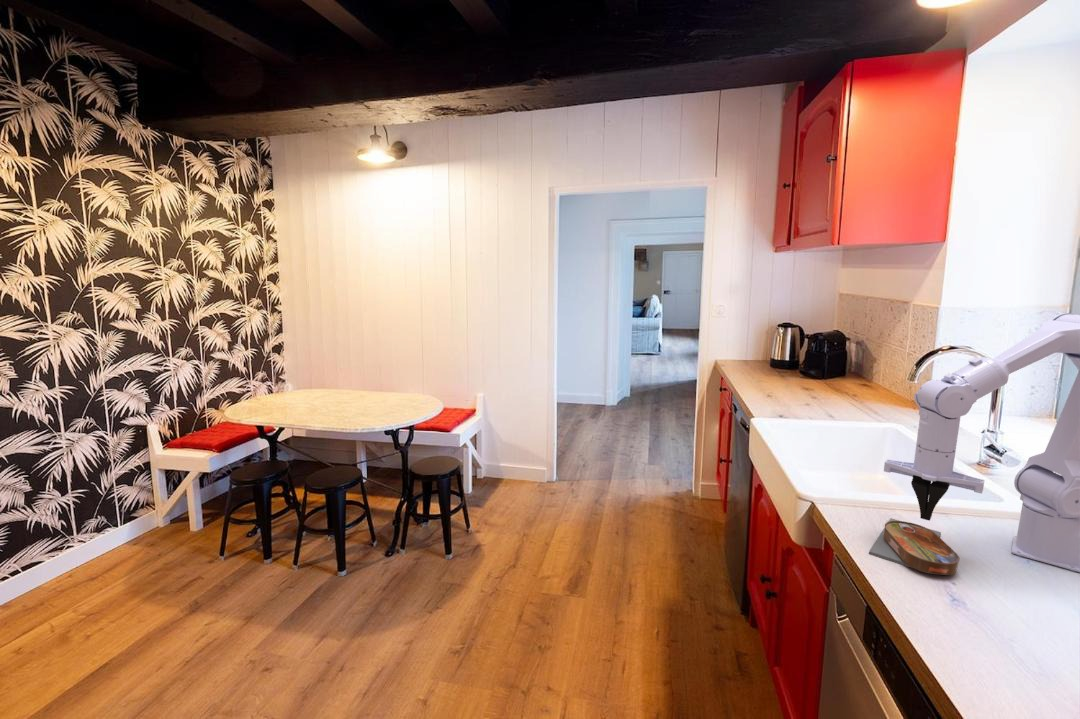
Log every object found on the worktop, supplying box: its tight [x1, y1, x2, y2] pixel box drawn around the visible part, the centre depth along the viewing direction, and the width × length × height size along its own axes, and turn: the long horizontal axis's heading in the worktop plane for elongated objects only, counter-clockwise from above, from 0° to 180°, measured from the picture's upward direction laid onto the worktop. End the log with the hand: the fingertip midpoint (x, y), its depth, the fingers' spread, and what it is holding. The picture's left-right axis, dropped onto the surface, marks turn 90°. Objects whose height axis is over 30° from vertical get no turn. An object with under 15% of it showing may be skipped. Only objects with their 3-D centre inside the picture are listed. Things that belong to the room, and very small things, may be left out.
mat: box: [868, 517, 942, 569], centre depth 102 cm, size 8×18×1 cm, turn 136°
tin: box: [884, 520, 960, 576], centre depth 97 cm, size 15×3×8 cm
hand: (925, 517), depth 98 cm, fingers closed
